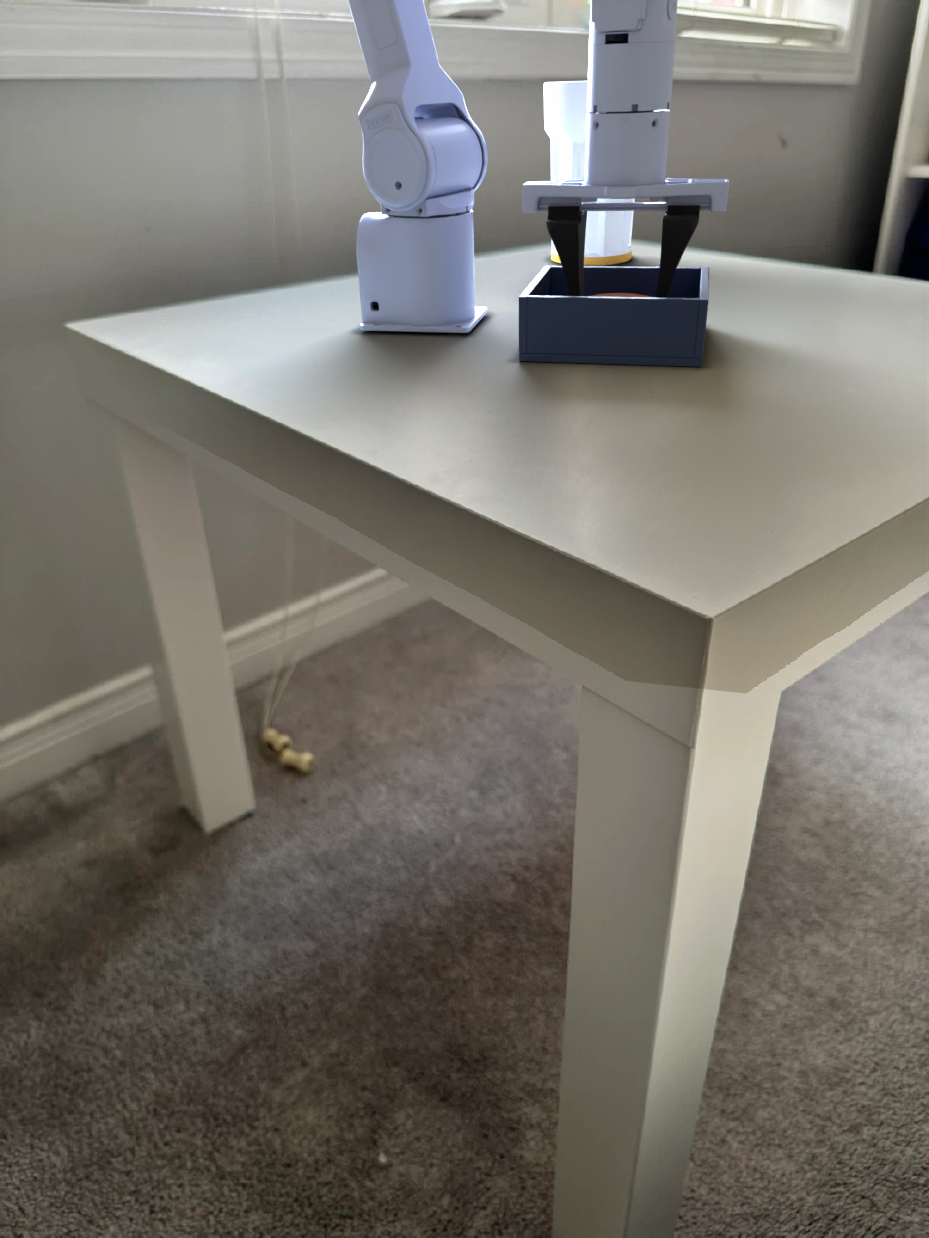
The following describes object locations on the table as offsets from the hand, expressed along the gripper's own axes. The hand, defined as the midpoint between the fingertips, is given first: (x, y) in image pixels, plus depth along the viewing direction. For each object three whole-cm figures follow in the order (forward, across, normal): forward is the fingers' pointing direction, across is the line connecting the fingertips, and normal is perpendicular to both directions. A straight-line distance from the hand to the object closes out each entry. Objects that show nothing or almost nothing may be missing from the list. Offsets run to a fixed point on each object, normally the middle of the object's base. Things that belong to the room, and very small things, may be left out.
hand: (617, 314), depth 70 cm
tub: (+2, 0, 0) cm, 2 cm away
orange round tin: (+2, 0, 0) cm, 2 cm away
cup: (+2, -6, +37) cm, 38 cm away
